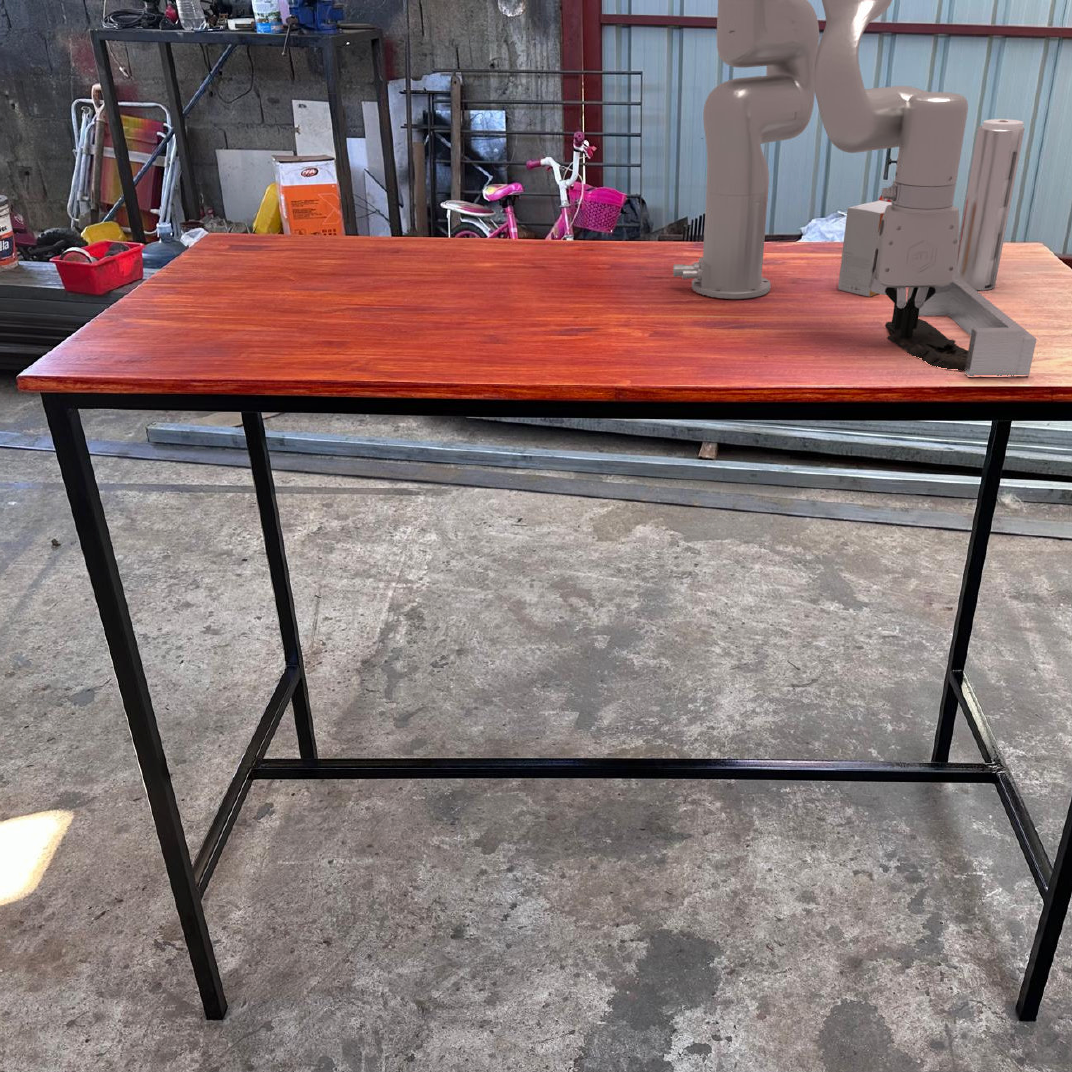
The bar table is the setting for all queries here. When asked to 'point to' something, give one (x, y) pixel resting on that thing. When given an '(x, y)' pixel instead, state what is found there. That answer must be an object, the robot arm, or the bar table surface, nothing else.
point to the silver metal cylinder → (988, 202)
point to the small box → (860, 246)
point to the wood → (930, 346)
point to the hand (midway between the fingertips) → (902, 333)
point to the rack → (984, 331)
